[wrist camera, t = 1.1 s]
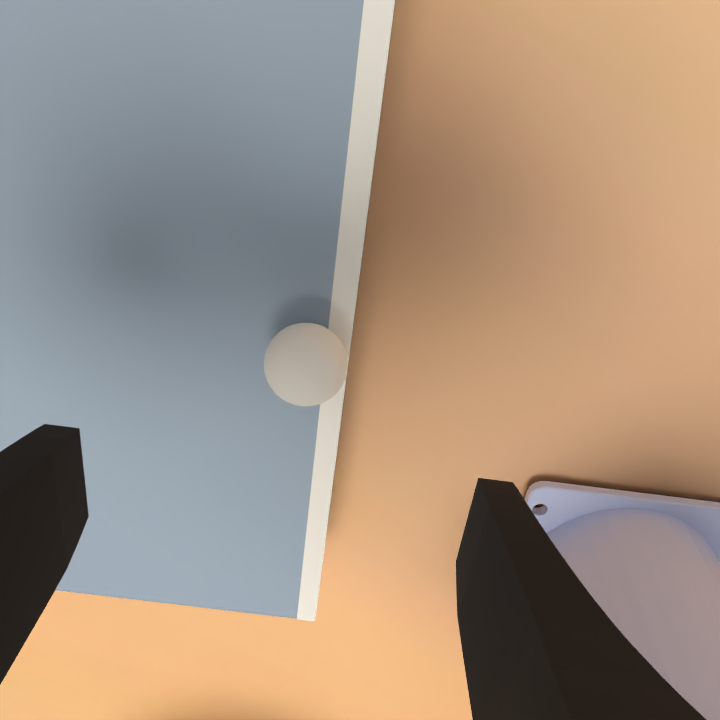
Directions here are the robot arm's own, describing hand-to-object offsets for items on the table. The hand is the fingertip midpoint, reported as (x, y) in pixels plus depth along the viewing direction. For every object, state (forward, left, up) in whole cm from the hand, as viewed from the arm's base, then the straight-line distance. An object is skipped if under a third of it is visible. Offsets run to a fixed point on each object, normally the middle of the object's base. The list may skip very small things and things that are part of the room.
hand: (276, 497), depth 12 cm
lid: (0, +6, -6) cm, 9 cm away
